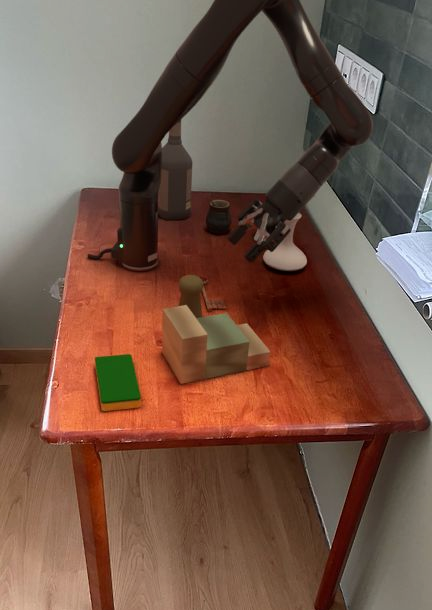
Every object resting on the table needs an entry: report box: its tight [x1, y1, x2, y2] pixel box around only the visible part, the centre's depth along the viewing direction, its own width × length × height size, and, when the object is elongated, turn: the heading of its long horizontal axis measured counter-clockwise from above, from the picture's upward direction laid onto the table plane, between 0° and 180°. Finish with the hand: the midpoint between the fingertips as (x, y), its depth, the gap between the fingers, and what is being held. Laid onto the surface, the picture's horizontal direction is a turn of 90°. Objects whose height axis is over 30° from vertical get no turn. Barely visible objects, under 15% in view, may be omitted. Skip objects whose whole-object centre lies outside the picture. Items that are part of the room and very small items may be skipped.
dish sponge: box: [94, 353, 142, 412], centre depth 116 cm, size 7×14×2 cm, turn 13°
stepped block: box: [161, 305, 271, 385], centre depth 122 cm, size 19×11×10 cm, turn 113°
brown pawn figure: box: [178, 274, 204, 318], centre depth 132 cm, size 6×6×11 cm
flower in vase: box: [262, 194, 316, 272], centre depth 153 cm, size 13×11×25 cm
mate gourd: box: [205, 199, 233, 235], centre depth 171 cm, size 7×8×10 cm
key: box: [198, 276, 226, 312], centre depth 146 cm, size 6×1×15 cm
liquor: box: [158, 119, 193, 221], centre depth 172 cm, size 9×9×30 cm
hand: (238, 250), depth 130 cm, fingers open, 8 cm apart
